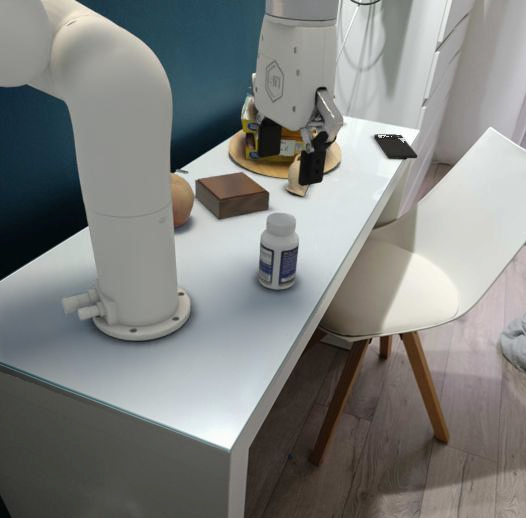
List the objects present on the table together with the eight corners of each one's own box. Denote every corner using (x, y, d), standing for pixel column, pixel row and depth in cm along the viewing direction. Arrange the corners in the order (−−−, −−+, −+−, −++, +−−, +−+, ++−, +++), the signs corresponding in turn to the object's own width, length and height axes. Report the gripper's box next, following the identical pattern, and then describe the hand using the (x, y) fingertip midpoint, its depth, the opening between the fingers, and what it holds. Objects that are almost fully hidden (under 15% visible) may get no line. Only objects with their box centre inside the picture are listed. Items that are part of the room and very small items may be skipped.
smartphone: (417, 158, 116) (400, 137, 127) (418, 154, 115) (400, 132, 126) (388, 158, 115) (373, 137, 127) (389, 154, 115) (374, 132, 126)
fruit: (138, 227, 83) (133, 180, 78) (162, 208, 89) (158, 163, 84) (182, 237, 81) (179, 190, 76) (202, 217, 87) (202, 172, 82)
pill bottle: (295, 272, 75) (302, 211, 69) (293, 292, 71) (301, 229, 65) (259, 269, 75) (263, 208, 69) (256, 288, 71) (259, 226, 65)
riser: (219, 219, 87) (219, 200, 85) (195, 196, 94) (194, 178, 91) (268, 209, 91) (269, 190, 89) (242, 188, 98) (243, 170, 95)
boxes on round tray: (335, 184, 102) (350, 95, 91) (217, 169, 104) (217, 80, 93) (342, 145, 120) (354, 67, 110) (241, 133, 123) (243, 55, 112)
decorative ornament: (282, 194, 97) (285, 166, 93) (292, 178, 103) (295, 152, 99) (303, 197, 96) (306, 170, 93) (311, 181, 102) (315, 155, 99)
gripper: (231, -7, 56) (230, 150, 67) (320, 19, 45) (301, 201, 56) (288, -7, 59) (278, 143, 70) (384, 17, 48) (354, 190, 59)
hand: (288, 168), depth 63 cm, fingers open, 9 cm apart
